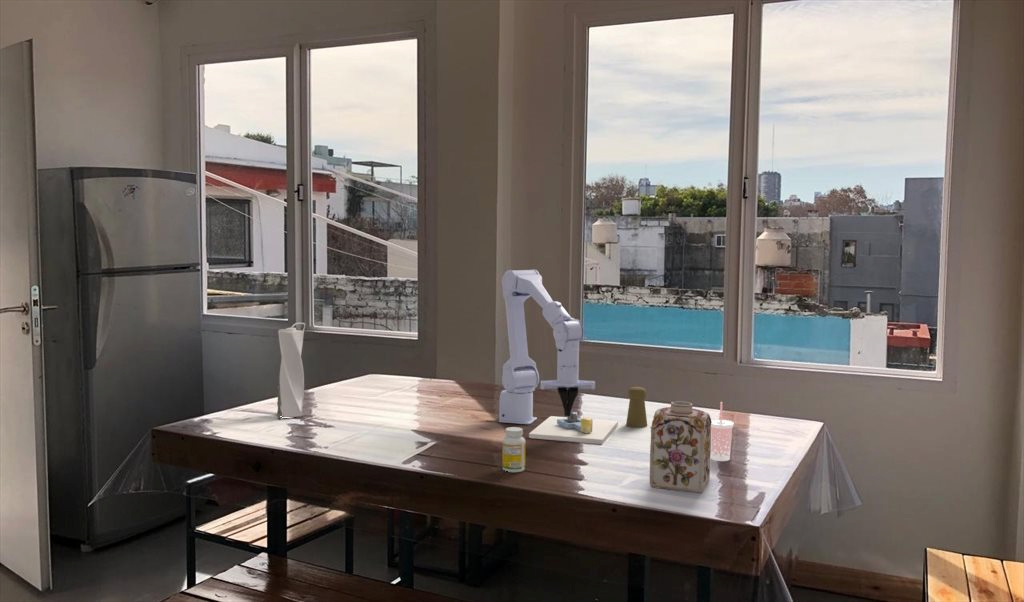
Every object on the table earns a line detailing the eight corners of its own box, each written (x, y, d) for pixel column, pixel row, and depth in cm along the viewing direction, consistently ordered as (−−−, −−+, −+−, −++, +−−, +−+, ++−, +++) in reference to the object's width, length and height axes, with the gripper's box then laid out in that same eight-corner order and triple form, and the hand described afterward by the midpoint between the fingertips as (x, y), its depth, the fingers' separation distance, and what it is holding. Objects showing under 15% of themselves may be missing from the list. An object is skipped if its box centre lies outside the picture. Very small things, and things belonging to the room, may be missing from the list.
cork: (646, 428, 233) (647, 389, 232) (625, 427, 234) (626, 388, 233) (647, 423, 239) (648, 385, 238) (626, 422, 240) (627, 384, 239)
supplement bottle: (515, 474, 188) (515, 433, 187) (497, 469, 192) (497, 429, 191) (530, 469, 192) (530, 428, 192) (512, 464, 196) (512, 425, 195)
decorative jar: (648, 487, 179) (649, 405, 177) (658, 473, 190) (660, 395, 188) (704, 494, 175) (706, 410, 173) (711, 478, 186) (713, 399, 184)
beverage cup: (737, 460, 200) (739, 403, 199) (715, 462, 198) (716, 405, 197) (724, 454, 206) (725, 398, 205) (702, 456, 204) (703, 400, 203)
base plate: (528, 438, 221) (528, 433, 221) (550, 420, 242) (550, 416, 242) (602, 444, 215) (602, 439, 215) (618, 425, 236) (618, 421, 236)
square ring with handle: (556, 423, 231) (557, 411, 231) (577, 421, 234) (577, 409, 233) (577, 433, 220) (578, 421, 219) (599, 431, 222) (599, 419, 222)
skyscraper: (305, 412, 251) (304, 320, 248) (308, 418, 243) (306, 323, 241) (277, 414, 248) (275, 321, 246) (278, 420, 240) (276, 324, 238)
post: (566, 431, 229) (566, 413, 228) (568, 428, 231) (568, 411, 231) (576, 431, 228) (576, 414, 228) (578, 429, 231) (578, 411, 230)
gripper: (542, 367, 216) (541, 418, 217) (597, 367, 217) (596, 418, 218) (540, 363, 223) (539, 412, 224) (593, 363, 224) (592, 412, 225)
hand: (567, 415), depth 222 cm, fingers closed
